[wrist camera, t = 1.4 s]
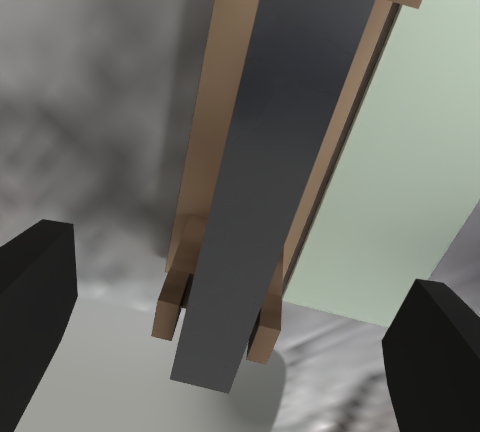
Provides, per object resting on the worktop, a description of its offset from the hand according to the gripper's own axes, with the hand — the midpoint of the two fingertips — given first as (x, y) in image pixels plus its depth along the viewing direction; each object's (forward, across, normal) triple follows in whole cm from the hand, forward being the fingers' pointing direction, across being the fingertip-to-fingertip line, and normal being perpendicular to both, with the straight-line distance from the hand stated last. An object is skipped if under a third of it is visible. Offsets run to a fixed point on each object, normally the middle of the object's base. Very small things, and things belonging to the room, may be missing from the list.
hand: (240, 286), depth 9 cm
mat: (+10, -8, 0) cm, 13 cm away
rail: (+6, 0, 0) cm, 6 cm away
